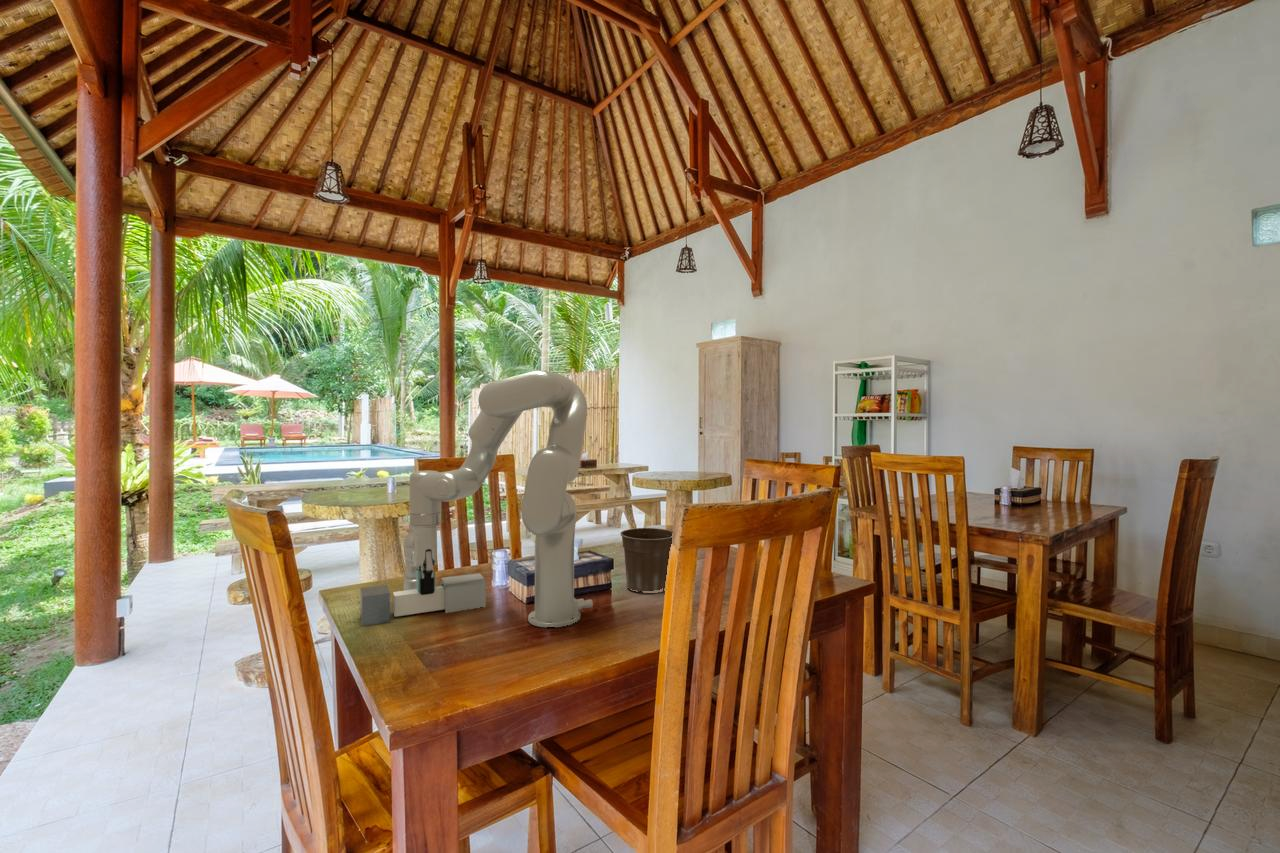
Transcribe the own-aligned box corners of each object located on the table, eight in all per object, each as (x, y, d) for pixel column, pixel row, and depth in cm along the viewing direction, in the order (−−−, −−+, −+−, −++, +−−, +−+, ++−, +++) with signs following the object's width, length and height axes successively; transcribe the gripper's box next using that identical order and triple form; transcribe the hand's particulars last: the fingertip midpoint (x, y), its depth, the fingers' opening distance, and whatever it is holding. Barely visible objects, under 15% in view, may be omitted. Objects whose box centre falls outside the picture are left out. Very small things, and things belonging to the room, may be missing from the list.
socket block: (386, 612, 145) (386, 584, 144) (389, 622, 138) (389, 593, 137) (360, 616, 142) (360, 588, 142) (362, 626, 135) (362, 596, 135)
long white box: (472, 600, 153) (472, 563, 153) (475, 604, 149) (475, 566, 149) (392, 611, 143) (392, 572, 143) (394, 616, 140) (394, 575, 140)
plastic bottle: (432, 590, 163) (432, 520, 163) (421, 598, 156) (421, 525, 156) (411, 590, 164) (410, 520, 164) (398, 597, 157) (398, 524, 157)
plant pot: (687, 591, 163) (687, 534, 163) (639, 600, 155) (639, 540, 154) (656, 577, 177) (656, 525, 177) (610, 585, 168) (610, 531, 168)
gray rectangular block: (479, 599, 155) (479, 573, 155) (485, 607, 149) (485, 579, 149) (440, 605, 150) (440, 577, 150) (445, 613, 144) (445, 584, 144)
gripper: (405, 515, 151) (406, 585, 151) (413, 526, 136) (414, 602, 136) (435, 513, 154) (435, 581, 154) (446, 523, 139) (446, 598, 140)
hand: (425, 590), depth 145 cm, fingers closed on long white box, 4 cm apart
